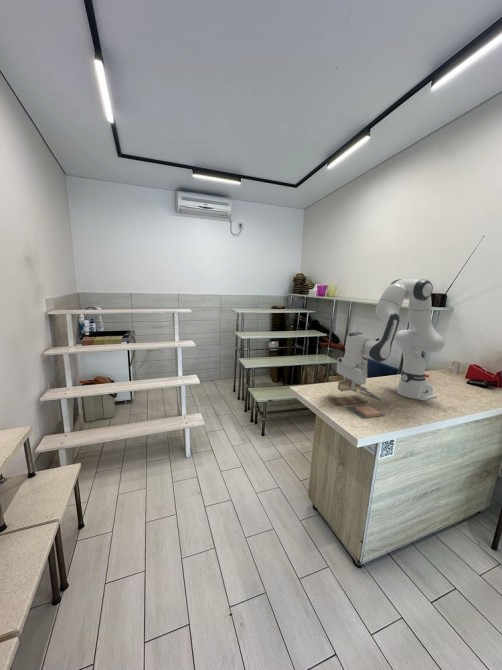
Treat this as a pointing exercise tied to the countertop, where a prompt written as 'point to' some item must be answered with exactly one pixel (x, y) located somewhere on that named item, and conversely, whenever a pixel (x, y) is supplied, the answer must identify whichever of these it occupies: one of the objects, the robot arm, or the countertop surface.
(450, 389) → the countertop surface
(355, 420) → the countertop surface
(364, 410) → the tile
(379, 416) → the mat
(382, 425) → the countertop surface
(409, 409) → the countertop surface
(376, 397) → the caliper
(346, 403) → the board
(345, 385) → the scraper
